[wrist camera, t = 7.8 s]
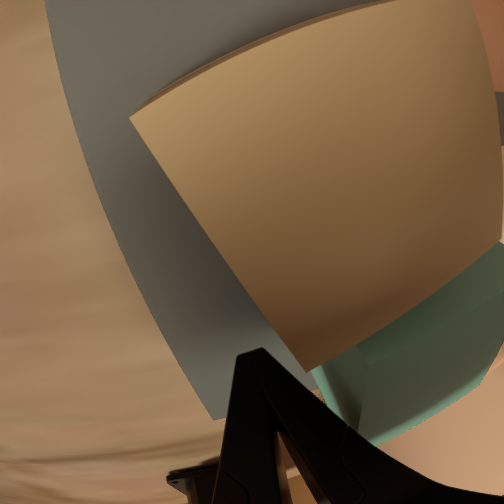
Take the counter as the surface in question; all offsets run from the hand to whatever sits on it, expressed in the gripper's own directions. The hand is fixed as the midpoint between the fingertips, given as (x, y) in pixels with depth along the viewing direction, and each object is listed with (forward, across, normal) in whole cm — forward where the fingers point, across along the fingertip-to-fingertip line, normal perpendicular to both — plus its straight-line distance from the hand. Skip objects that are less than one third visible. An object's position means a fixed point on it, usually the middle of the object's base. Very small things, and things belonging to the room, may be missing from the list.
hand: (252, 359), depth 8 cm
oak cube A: (+1, -2, -5) cm, 6 cm away
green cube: (+1, -4, 0) cm, 4 cm away
